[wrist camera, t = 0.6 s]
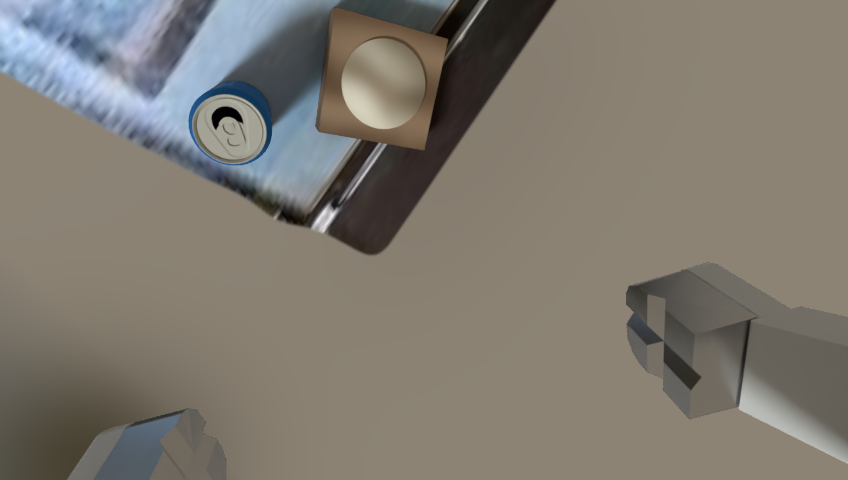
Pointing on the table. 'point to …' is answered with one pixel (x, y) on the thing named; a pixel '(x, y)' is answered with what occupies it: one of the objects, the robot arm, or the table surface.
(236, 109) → the beverage can
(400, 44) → the base block
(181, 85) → the table surface
